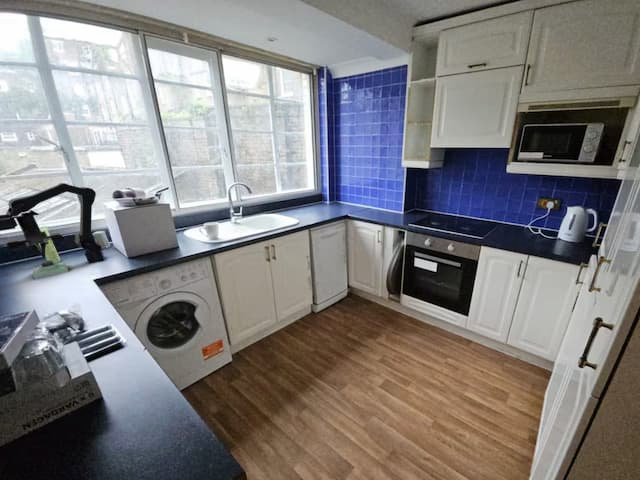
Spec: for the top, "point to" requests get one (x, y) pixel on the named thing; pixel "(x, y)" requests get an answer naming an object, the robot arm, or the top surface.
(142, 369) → the top surface
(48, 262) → the pump head
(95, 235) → the cosmetics bottle
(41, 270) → the dispenser
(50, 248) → the tube
